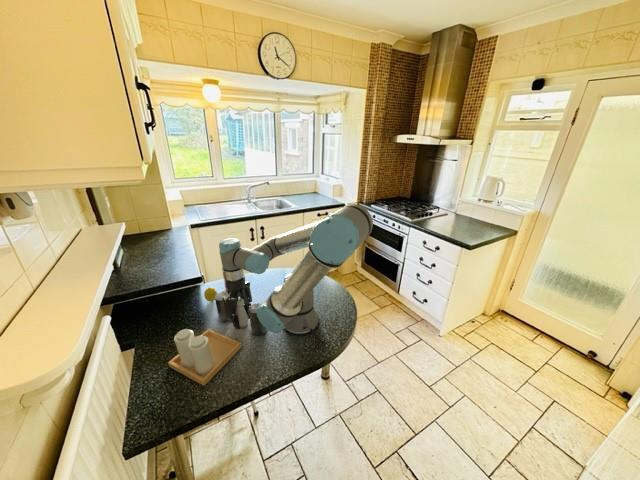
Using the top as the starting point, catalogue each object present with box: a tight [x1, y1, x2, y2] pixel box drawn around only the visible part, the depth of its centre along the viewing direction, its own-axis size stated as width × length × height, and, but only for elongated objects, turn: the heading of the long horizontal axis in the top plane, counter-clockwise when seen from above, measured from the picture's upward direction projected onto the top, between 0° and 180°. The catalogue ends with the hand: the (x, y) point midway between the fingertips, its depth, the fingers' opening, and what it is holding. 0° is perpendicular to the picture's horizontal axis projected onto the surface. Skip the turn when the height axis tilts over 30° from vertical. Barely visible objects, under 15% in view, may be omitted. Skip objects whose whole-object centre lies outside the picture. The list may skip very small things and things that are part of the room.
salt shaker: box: [236, 297, 250, 329], centre depth 107 cm, size 6×6×13 cm
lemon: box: [203, 286, 218, 303], centre depth 123 cm, size 6×6×8 cm
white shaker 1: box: [173, 328, 196, 368], centre depth 90 cm, size 6×6×13 cm
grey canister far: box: [214, 291, 231, 324], centre depth 111 cm, size 6×6×12 cm
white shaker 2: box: [189, 335, 214, 376], centre depth 87 cm, size 6×6×13 cm
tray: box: [167, 328, 242, 387], centre depth 94 cm, size 17×18×3 cm
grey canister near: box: [249, 302, 267, 337], centre depth 104 cm, size 6×6×12 cm
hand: (242, 322), depth 110 cm, fingers closed on salt shaker, 6 cm apart
